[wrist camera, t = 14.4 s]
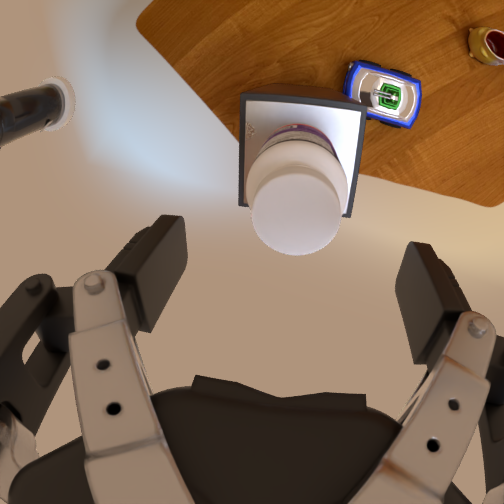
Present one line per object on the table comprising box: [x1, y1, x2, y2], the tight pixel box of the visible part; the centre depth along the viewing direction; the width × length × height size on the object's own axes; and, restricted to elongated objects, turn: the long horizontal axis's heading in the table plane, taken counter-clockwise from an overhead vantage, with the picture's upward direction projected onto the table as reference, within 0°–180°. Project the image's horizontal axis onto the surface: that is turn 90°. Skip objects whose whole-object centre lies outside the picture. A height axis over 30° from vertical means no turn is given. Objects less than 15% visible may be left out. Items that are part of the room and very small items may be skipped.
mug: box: [468, 27, 504, 65], centre depth 28 cm, size 12×7×7 cm, turn 87°
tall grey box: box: [238, 83, 368, 218], centre depth 33 cm, size 9×9×28 cm
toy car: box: [343, 60, 422, 129], centre depth 37 cm, size 9×12×10 cm
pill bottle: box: [246, 123, 348, 255], centre depth 17 cm, size 5×5×10 cm
